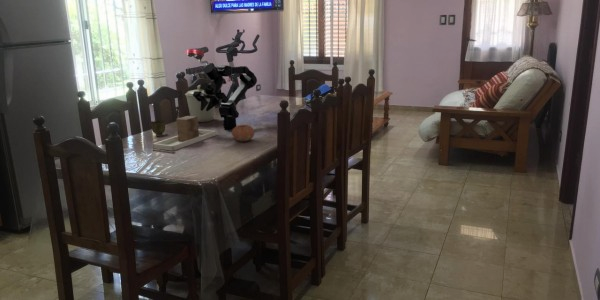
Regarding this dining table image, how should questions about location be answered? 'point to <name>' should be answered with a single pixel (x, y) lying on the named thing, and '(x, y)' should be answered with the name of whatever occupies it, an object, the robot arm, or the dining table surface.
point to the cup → (158, 127)
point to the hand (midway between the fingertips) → (203, 110)
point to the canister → (199, 107)
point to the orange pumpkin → (243, 133)
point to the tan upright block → (187, 128)
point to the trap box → (175, 144)
